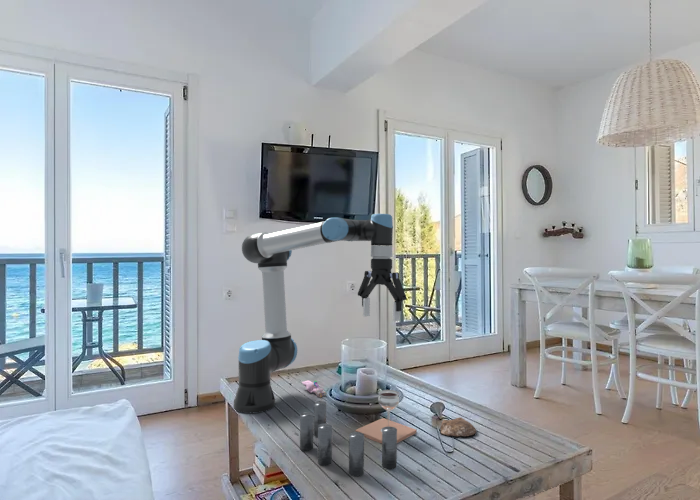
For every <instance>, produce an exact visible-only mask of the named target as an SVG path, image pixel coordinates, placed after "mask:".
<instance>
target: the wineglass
mask: <svg viewBox="0 0 700 500" xmlns="http://www.w3.org/2000/svg"><path fill="white" fill-rule="evenodd" d="M399 395H400V392H399V391H397V390H393V389H384V390H380V391H378V397H377V399H378V400H377V401H378V404H379V405H380V407H381V408H382V409H384V410H385V411H386V414H387V420H388V426H389V420H390V419H391V416H390V414H391V411H393V410H394V409H396V408H397V407H398V406H399V403H400V397H399ZM390 421H391V420H390ZM382 429H383V428H382ZM382 429H381V432H382Z"/></svg>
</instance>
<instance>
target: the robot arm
mask: <svg viewBox="0 0 700 500" xmlns="http://www.w3.org/2000/svg"><path fill="white" fill-rule="evenodd" d="M393 230H394V226H393V217H392V215H391V214H390V213H373V214H371V216H370V219H367V220H366V219H365V220H364V219H363V220H362V219H361V220H359V219H349V218H342V217H337V216H336V217H328V218H327V219H326V220H325V221H324V220H323V221H320V222H315V223H310V224H306V225H301V226H298V227H292V228H287V229H283V230H281V231H275V232H272V233H271V232H270V233H268V232H267V231H262V232H257V233H252V234H249V235H247V236H246V237H245V238H244V239H243V241H242V242H241V243H242V244H241V252H242V255H243V257H244V258H245V259H246V260H247V261H248V262H250V263H254V264H257V269H258V270H260V272H261V273H262V291H263V293H262V295H263V310H264V311H263V312H264V329H265V330H264V333H263V335H262V336H261V339H256V340H252V341H251V340H250V341H248V342H245V343H243V344H242V345H241V346H240V347H239V350H238V357H237V358H238V387H237V390H236V393H235V396H234V398H233V409H234V410H235V411H236V412H240V413H244V414H254V413H253V412H258V413H263V412H262V411H264V412H267V411H269V410H271V409H273V408H274V407H276V397H275V394H274V391H273V388H272V384H271V376H272V375H271V373H273V372H276V371H279V370H282V369H286V368H287V367H289V366H290V365H292V364H293V363H294V362H295V360H296V358H297V355H298V346H297V343H296V342H295V341H294V339H293V338H292V333H291V332H290V331H288V327H287V326H288V323H287V311H286V310H287V307H286V292H285V291H286V290H285V289H286V288H285V287H286V286H285V272H284V271H285V270H286V268H288V261H289V260H290V258H291V256H292V252H293V251H294V250H298V249H304V248H309V247H315V246H318V245H324V244H330V243H334V242H335V243H336V242H341V241H344V242H370V245H371V246H370V257H371V259H370V269H371V270H365V271H364V276H363V278H362V280H361V281H362V282H361V284H360V286H359V289H358V292H357V296H358V297H359V296H360V297H361V306H362V309H363V310H362V316H363V318H365V317H370V316H371V315H370V313H371V312H370V311H371V310H370V309H371V306H370V305H371V304H370V303H371V298H370V295H371V293H372V292H373V290H374V289H375V287H376V286H378V285H380V286H381V285H382V286H385V287H386V288H387V290H388V292H389V293H390V295H391V296H392V298H393V299H394V301H392V302H393V303H392V304H393V305H392V307H393V308H392V322H398V321H401V320H400V319H401V318H400V316H401V311H402V302H404V301H406V300H407V299H408V298H407V295H406V293H405V290H404V288H403V285H402V282H401V280H400V272H392V269H393V259H392V257H393V233H394V232H393ZM266 410H267V411H266ZM250 412H252V413H250Z"/></svg>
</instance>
